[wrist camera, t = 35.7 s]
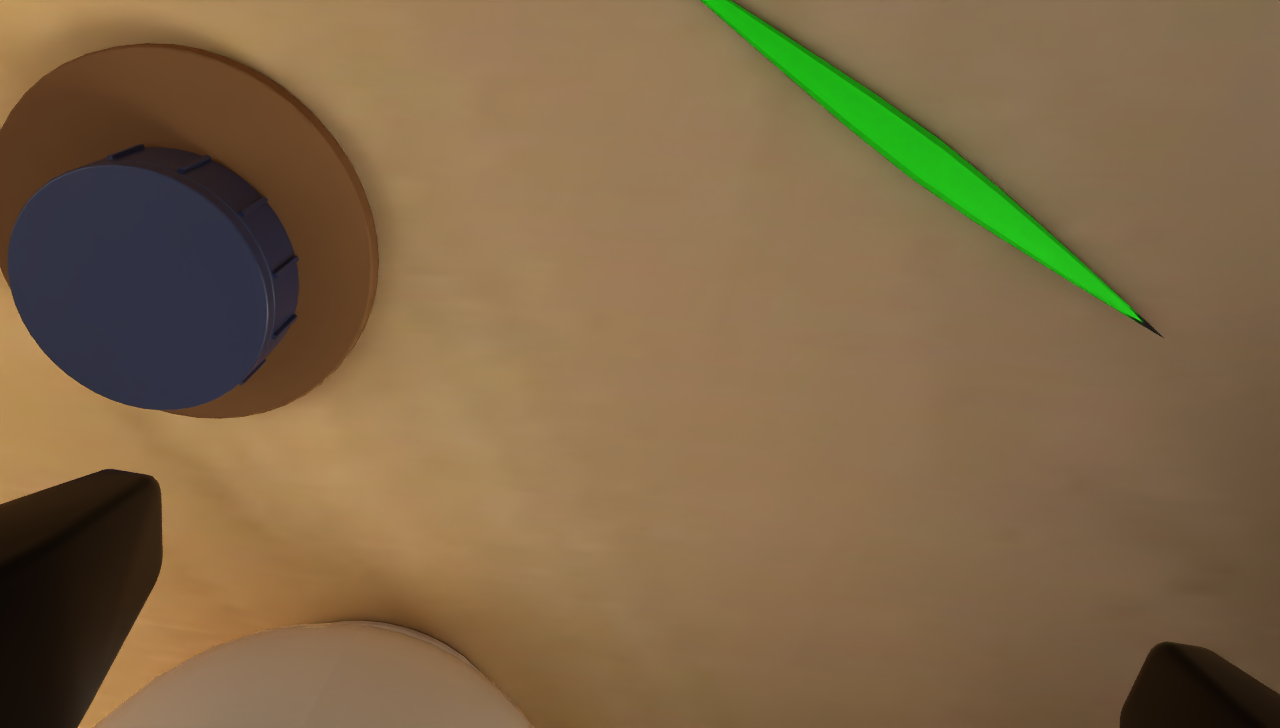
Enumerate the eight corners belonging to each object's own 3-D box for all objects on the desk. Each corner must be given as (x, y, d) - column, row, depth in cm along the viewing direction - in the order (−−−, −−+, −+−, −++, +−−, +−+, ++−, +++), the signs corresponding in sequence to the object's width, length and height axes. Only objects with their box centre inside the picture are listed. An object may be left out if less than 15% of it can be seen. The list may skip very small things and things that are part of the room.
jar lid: (142, 405, 21) (100, 441, 20) (10, 196, 20) (-48, 218, 18) (341, 333, 21) (314, 366, 19) (223, 109, 19) (182, 123, 17)
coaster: (330, 456, 22) (323, 466, 22) (-18, 339, 22) (-33, 347, 21) (423, 131, 19) (416, 135, 19) (23, -21, 18) (7, -20, 18)
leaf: (1140, 347, 21) (1156, 361, 20) (609, -47, 18) (607, -47, 18) (1171, 315, 21) (1189, 328, 20) (637, -90, 18) (636, -93, 17)
